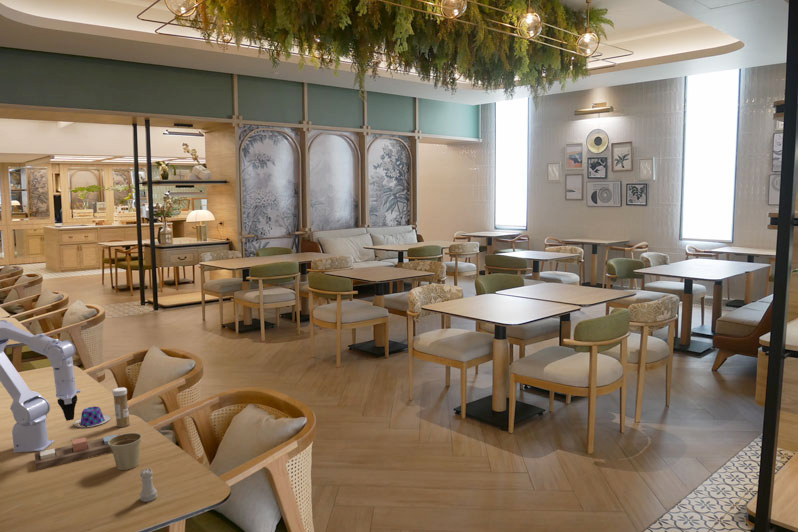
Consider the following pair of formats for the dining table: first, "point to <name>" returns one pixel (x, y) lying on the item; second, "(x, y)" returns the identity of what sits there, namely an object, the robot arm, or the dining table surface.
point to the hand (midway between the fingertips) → (70, 419)
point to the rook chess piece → (147, 486)
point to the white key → (47, 454)
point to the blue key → (107, 439)
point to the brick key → (79, 444)
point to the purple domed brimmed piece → (92, 417)
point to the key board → (72, 454)
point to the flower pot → (126, 450)
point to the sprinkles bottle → (121, 407)
